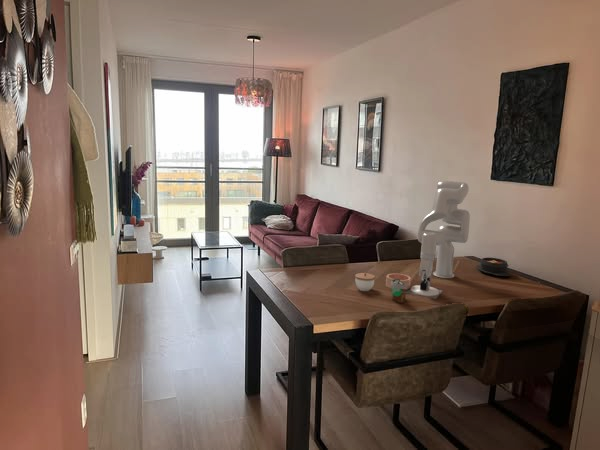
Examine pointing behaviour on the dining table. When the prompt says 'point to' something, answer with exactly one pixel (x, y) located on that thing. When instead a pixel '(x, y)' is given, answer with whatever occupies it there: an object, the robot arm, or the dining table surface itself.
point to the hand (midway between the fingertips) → (424, 287)
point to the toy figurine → (398, 291)
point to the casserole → (494, 266)
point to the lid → (428, 292)
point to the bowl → (403, 278)
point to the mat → (425, 296)
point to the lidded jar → (364, 281)
